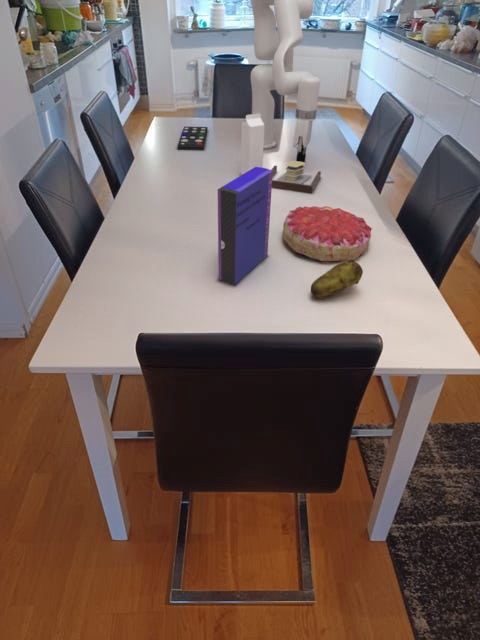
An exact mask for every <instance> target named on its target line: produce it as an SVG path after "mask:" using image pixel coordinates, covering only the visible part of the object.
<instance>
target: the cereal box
mask: <svg viewBox="0 0 480 640" xmlns="http://www.w3.org/2000/svg"><path fill="white" fill-rule="evenodd" d="M272 175H273V170H271V169H269V168H266V167H262V168H261V167H254V168H253V169H251V170H249V171H248V172H246V173H244V174H243V175H241V174H240V175H239V176H238V177H235V178H234V179H233V180H231V181H229V182H227V183H226V184H224V185H222V186H220V187H219V188H218V189H217V249H218V250H217V251H218V253H217V257H218V262H217V263H218V281H220V282H222V283H226V284H228V285H231V286H236V285H238V284H239V282H241V281H242V280H243V279H244V278H245V277H247V276H248V275H249V274H250V273H251V272H252V271H253V270H254V269H255V268H256V267H257V266H258V265H260V263H263V261H264V260H265V259H266V258H267V257H268V255H269V238H270V237H269V236H270V221H271V207H272V206H271V205H272V191H273V190H272V189H273V188H272V180H273V178H272Z"/></svg>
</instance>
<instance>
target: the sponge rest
mask: <svg viewBox="0 0 480 640" xmlns="http://www.w3.org/2000/svg"><path fill="white" fill-rule="evenodd" d="M270 170H273V175H272V189H279V190H284V191H285V190H286V191H293V192H300V193H305V194H306V193H307V194H313V192H314V190H315V189H316V186H317V185H318V183H319V181H320V180H321V175H322V174H321V173H322V171H321V170H320V171H317V172H316V175H314V178H313V179H312V181H311V184H304V183H302V184H297V183H290V182H283V181H278V180H276V179H275V180H274V179H273V178H274V176H275V175H276V174H277V173H278V165H273V167H272V168H271V169H270Z"/></svg>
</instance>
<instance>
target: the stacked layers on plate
mask: <svg viewBox="0 0 480 640" xmlns="http://www.w3.org/2000/svg"><path fill="white" fill-rule="evenodd" d="M305 164H306V162H305V163H304V162H299V161H296V160H289V161H288V162H287V164H286V165H285V166H286V168H285V170H286V173H285V174H284V175H282V176H281V177H280V178H279V179H278V180H277V181H283V182H290V183H297V184H304V183H305V182H306V181H307V180H308V179H309V178H310V177H311V176H310V175H305V171H304V169H306V167H305V166H304V165H305Z"/></svg>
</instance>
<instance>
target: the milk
mask: <svg viewBox="0 0 480 640" xmlns="http://www.w3.org/2000/svg"><path fill="white" fill-rule="evenodd" d="M260 115H261V114H260V113H258V114H252V113H251V114H246V115H245V119H244V120H243V121H242V122H241V137H240V140H241V141H240V176H241V175H243V174H244V173H246V172H248V171H249V170H251V169H253V168H254V167H261V168H263V163H264V162H263V160H264V149H263V143H264V123H263V122H262V120H261V118H260Z"/></svg>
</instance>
